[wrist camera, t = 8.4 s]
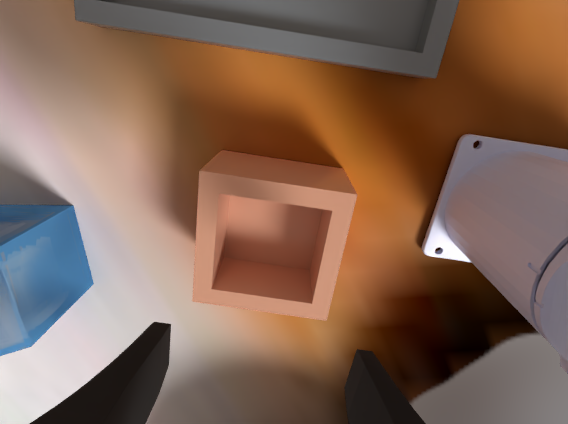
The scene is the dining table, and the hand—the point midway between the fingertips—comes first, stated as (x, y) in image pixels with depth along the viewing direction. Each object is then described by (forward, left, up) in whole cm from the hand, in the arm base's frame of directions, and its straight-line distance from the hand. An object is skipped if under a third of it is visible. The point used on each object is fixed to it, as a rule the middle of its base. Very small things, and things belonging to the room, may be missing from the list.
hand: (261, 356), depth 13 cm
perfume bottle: (+16, +3, -11) cm, 20 cm away
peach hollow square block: (0, -2, -10) cm, 11 cm away
